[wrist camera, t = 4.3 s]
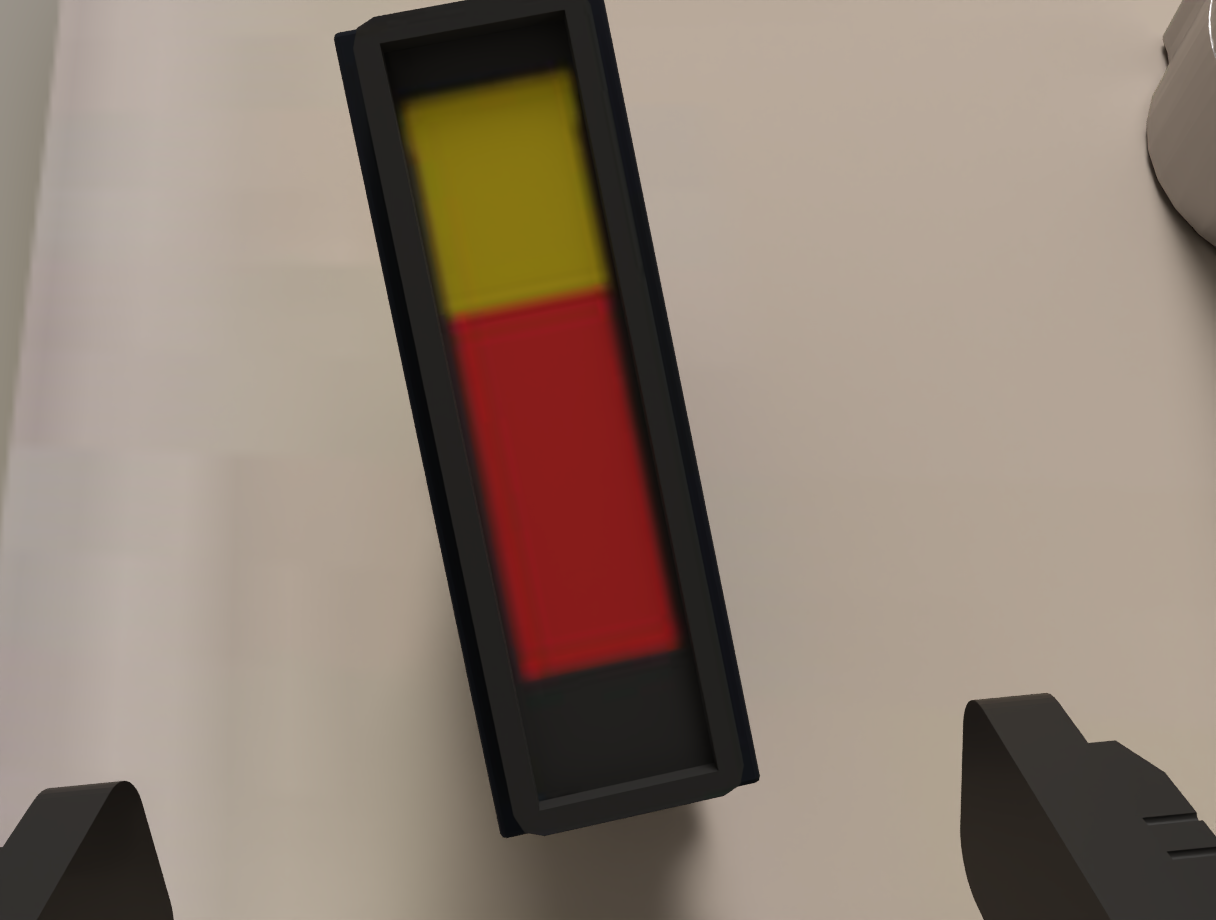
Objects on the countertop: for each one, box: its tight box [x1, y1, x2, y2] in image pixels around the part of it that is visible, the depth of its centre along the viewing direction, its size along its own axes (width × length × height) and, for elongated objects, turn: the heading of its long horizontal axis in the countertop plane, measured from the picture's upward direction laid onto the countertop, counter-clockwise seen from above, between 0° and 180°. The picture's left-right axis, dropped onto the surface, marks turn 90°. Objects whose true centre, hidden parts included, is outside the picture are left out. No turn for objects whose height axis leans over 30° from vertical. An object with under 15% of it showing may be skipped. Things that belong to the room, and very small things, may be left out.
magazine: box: [334, 0, 760, 838], centre depth 22 cm, size 4×13×15 cm, turn 12°
